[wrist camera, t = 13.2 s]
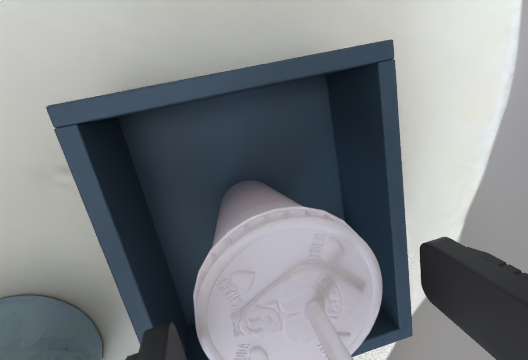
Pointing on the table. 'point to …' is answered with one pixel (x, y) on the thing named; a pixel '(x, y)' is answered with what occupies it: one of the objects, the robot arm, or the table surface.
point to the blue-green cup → (46, 330)
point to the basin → (240, 172)
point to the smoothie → (284, 282)
